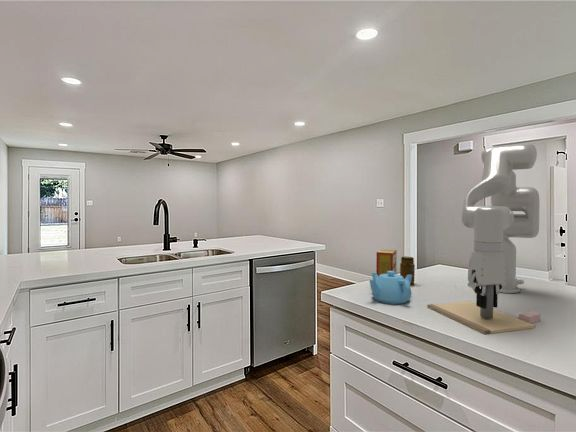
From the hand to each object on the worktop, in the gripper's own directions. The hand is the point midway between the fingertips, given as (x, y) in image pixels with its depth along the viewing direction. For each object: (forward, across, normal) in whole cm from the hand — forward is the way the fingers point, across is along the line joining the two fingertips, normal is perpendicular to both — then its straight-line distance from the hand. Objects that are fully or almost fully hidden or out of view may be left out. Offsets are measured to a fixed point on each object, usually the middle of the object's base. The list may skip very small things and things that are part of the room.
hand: (486, 306), depth 100 cm
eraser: (+5, -13, +3) cm, 14 cm away
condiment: (+5, -4, -46) cm, 46 cm away
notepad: (+5, 0, -4) cm, 6 cm away
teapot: (+5, +16, -28) cm, 32 cm away
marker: (+3, 0, 0) cm, 3 cm away
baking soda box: (+5, +8, -44) cm, 45 cm away
